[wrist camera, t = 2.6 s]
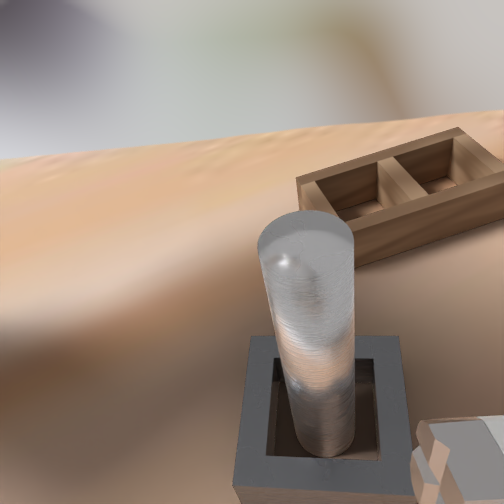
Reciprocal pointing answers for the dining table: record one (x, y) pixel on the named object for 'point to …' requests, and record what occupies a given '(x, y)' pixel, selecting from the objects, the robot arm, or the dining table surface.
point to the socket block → (323, 469)
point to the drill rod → (314, 323)
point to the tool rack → (410, 193)
